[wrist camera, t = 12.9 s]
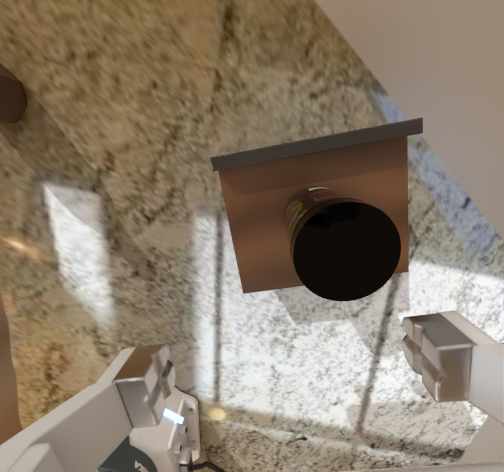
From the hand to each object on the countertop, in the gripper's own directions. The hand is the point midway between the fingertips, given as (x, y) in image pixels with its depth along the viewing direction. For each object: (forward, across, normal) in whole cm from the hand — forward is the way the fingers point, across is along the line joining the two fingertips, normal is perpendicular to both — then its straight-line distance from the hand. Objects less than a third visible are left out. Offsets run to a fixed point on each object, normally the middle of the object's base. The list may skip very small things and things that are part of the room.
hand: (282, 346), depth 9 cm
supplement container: (+19, +5, 0) cm, 19 cm away
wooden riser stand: (+29, +5, 0) cm, 29 cm away
